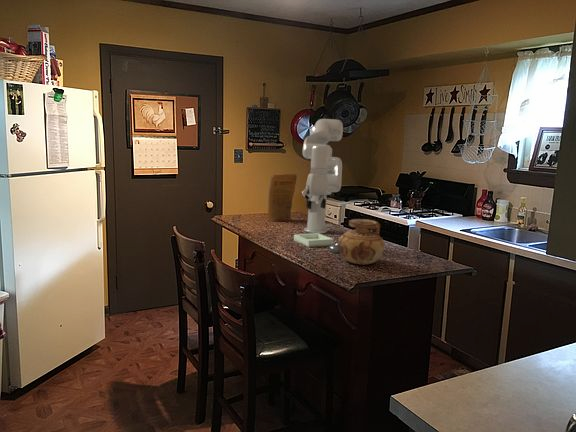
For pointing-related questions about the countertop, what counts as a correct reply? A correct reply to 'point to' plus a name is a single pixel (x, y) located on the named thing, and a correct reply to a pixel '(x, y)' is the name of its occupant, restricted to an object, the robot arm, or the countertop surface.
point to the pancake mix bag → (281, 197)
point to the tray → (313, 240)
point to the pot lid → (334, 248)
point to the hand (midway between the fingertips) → (315, 208)
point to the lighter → (315, 204)
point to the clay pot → (362, 242)
